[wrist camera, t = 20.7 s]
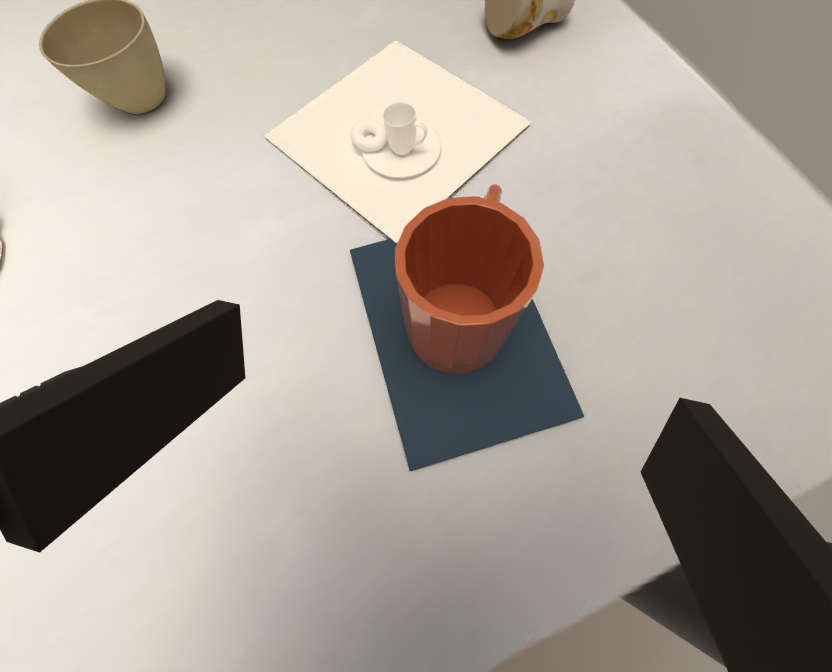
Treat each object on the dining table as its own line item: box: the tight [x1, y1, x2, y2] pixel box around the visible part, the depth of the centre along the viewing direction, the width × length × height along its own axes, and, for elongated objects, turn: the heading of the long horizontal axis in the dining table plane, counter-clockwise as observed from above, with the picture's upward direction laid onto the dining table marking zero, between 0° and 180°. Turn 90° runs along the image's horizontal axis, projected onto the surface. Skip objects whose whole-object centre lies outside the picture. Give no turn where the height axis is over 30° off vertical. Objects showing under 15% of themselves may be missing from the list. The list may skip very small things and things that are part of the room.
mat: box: [350, 239, 584, 471], centre depth 33 cm, size 20×14×1 cm
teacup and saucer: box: [350, 101, 442, 179], centre depth 37 cm, size 9×8×4 cm
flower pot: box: [39, 0, 165, 114], centre depth 40 cm, size 10×10×7 cm
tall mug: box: [395, 184, 544, 374], centre depth 28 cm, size 11×8×11 cm
